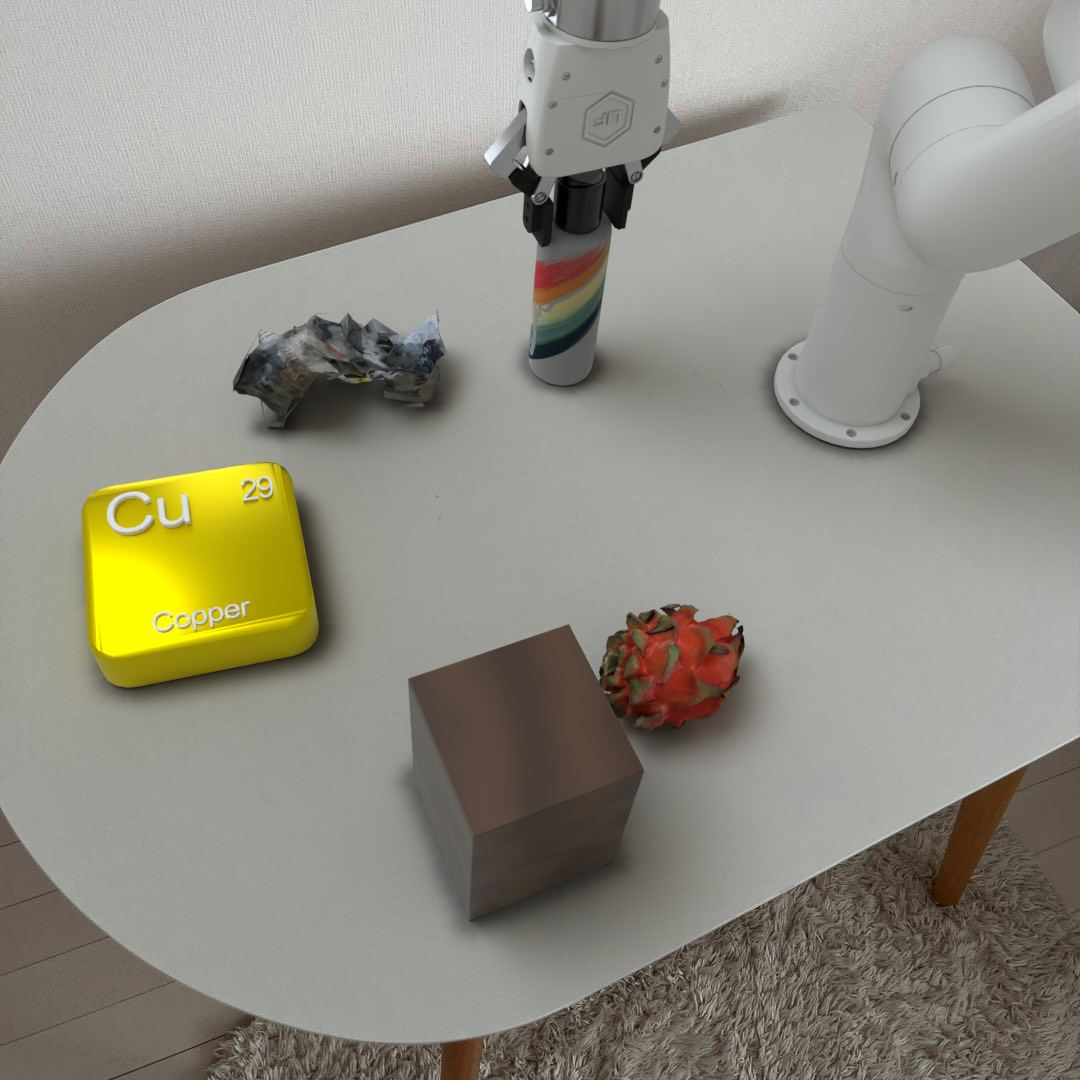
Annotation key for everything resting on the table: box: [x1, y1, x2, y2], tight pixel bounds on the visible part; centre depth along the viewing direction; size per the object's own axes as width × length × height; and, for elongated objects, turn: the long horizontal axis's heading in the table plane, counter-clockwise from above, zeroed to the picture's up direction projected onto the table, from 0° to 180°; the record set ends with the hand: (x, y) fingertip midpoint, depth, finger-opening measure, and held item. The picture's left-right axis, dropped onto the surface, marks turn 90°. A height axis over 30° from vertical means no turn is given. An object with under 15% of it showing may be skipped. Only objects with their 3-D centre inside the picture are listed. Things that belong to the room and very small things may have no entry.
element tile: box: [80, 461, 320, 689], centre depth 80 cm, size 15×15×5 cm
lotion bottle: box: [528, 168, 613, 386], centre depth 89 cm, size 6×6×20 cm
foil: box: [232, 309, 448, 430], centre depth 91 cm, size 12×11×15 cm
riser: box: [407, 623, 645, 922], centre depth 67 cm, size 10×10×14 cm
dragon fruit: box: [598, 603, 746, 732], centre depth 76 cm, size 8×8×12 cm
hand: (575, 225), depth 85 cm, fingers closed on lotion bottle, 5 cm apart
